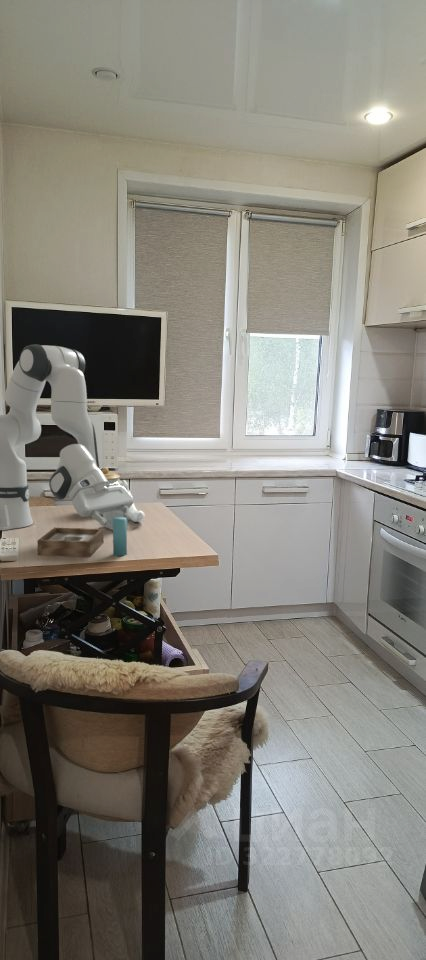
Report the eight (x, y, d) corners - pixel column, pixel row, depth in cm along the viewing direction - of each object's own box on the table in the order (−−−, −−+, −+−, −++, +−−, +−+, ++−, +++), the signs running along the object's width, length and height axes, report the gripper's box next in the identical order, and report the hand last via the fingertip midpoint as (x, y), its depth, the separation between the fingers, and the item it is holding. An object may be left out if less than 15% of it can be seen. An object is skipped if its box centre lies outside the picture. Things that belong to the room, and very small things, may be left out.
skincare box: (127, 529, 225) (127, 487, 222) (111, 531, 222) (111, 488, 219) (117, 524, 232) (116, 483, 229) (101, 526, 229) (101, 485, 226)
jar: (85, 510, 254) (84, 465, 251) (117, 507, 259) (117, 464, 256) (93, 517, 243) (92, 470, 240) (126, 514, 248) (126, 469, 245)
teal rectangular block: (112, 555, 193) (111, 519, 191) (115, 551, 197) (114, 516, 195) (125, 556, 193) (124, 520, 191) (127, 552, 196) (127, 517, 195)
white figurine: (138, 527, 227) (137, 487, 224) (118, 517, 243) (118, 478, 241) (150, 526, 229) (150, 486, 227) (130, 515, 246) (130, 477, 243)
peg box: (37, 554, 192) (37, 540, 192) (55, 541, 208) (54, 527, 207) (90, 556, 191) (90, 542, 191) (103, 542, 207) (103, 529, 206)
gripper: (114, 488, 208) (136, 522, 204) (63, 497, 193) (85, 533, 188) (124, 476, 205) (146, 510, 200) (72, 483, 189) (95, 520, 185)
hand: (116, 521), depth 194 cm, fingers open, 8 cm apart
